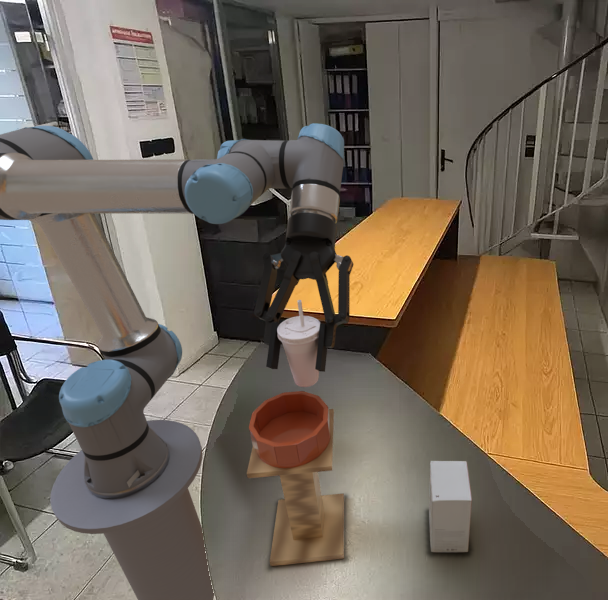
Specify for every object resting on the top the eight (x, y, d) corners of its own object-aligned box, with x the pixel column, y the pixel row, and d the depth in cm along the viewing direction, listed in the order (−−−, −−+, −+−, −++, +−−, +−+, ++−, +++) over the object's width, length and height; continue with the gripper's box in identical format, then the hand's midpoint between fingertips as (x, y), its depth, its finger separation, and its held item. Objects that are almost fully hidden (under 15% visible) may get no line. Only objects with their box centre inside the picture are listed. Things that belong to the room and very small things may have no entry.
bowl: (248, 471, 69) (243, 449, 66) (261, 415, 78) (256, 394, 76) (329, 464, 69) (326, 441, 67) (331, 409, 79) (329, 388, 77)
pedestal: (270, 566, 79) (246, 473, 68) (279, 503, 90) (259, 414, 79) (344, 558, 80) (331, 466, 69) (344, 497, 90) (333, 408, 80)
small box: (468, 553, 80) (472, 501, 74) (430, 553, 81) (431, 501, 74) (463, 510, 87) (467, 459, 81) (428, 510, 88) (429, 460, 81)
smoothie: (324, 392, 72) (315, 312, 65) (281, 393, 72) (267, 313, 65) (329, 365, 78) (320, 289, 71) (289, 366, 77) (277, 290, 70)
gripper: (377, 231, 78) (366, 375, 72) (261, 229, 80) (241, 369, 74) (371, 211, 71) (358, 369, 65) (243, 208, 72) (219, 362, 66)
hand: (296, 368), depth 69 cm, fingers closed on smoothie, 6 cm apart
